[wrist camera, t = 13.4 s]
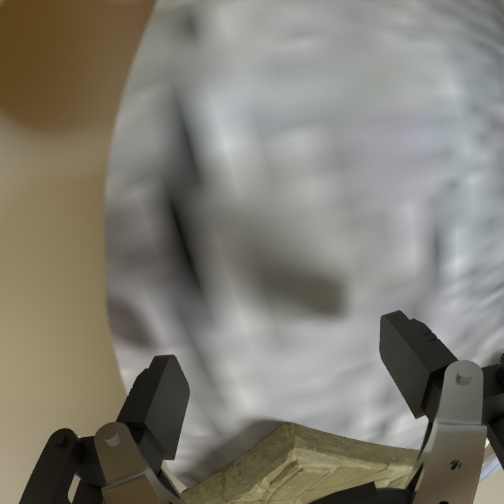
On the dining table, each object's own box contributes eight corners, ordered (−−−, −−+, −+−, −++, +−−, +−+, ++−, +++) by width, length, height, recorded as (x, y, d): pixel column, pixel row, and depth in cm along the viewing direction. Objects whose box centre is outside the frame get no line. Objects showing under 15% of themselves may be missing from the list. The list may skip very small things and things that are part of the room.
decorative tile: (289, 412, 13) (295, 462, 10) (438, 446, 17) (450, 470, 13) (169, 492, 18) (164, 518, 14) (317, 517, 21) (320, 537, 18)
